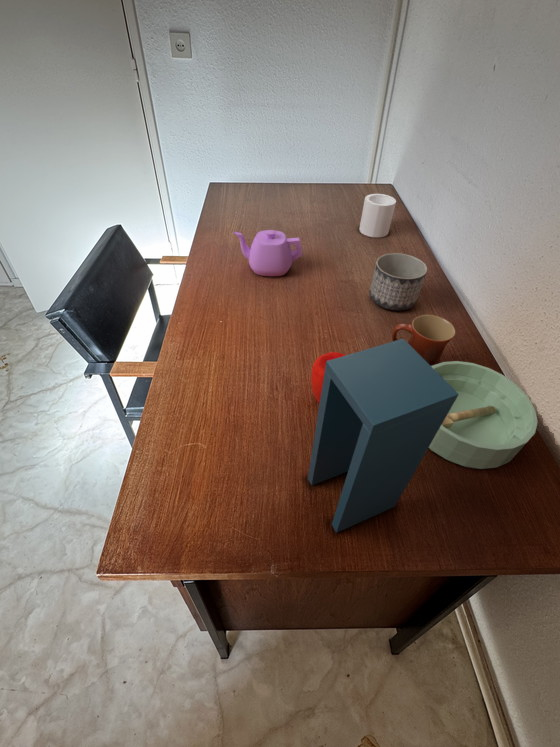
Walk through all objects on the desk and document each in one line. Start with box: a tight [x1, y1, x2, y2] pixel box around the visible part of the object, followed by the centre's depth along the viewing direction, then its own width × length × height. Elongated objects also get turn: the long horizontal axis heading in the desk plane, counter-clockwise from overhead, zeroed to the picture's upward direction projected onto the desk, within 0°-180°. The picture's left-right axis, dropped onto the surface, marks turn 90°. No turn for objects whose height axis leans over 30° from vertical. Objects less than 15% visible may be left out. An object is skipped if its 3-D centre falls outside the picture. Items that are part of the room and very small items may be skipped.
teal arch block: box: [307, 338, 459, 533], centre depth 52 cm, size 10×11×28 cm
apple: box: [310, 351, 347, 404], centre depth 72 cm, size 9×9×11 cm
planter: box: [368, 252, 428, 311], centre depth 97 cm, size 13×13×10 cm
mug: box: [391, 314, 456, 366], centre depth 80 cm, size 12×9×10 cm
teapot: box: [232, 229, 304, 277], centre depth 107 cm, size 13×20×11 cm
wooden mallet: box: [442, 406, 496, 428], centre depth 70 cm, size 17×3×2 cm, turn 111°
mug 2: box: [358, 193, 397, 238], centre depth 127 cm, size 14×10×11 cm
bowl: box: [428, 360, 539, 470], centre depth 70 cm, size 21×21×7 cm
